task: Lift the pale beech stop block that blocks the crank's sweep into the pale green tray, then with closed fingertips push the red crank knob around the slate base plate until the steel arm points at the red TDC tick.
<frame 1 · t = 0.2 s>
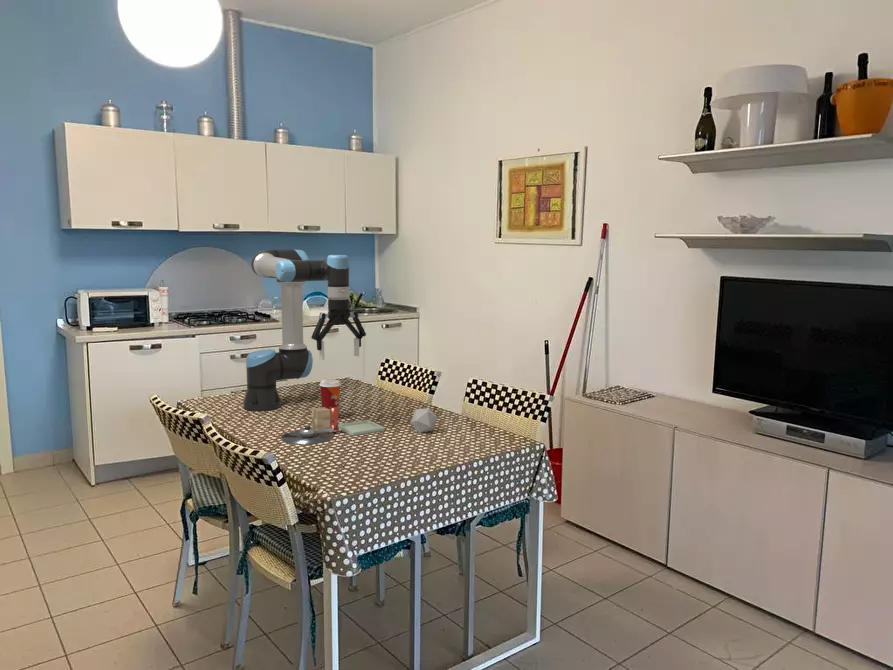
hand: (339, 357, 242), 27 cm above the table, fingers open, 13 cm apart
tray: (360, 430, 245), on the table
coffee cup: (330, 419, 260), on the table
crank: (319, 421, 237), point 5 cm above the table, hinge at 90.0°
die: (424, 431, 245), on the table
tdc tick: (294, 429, 246), on the table
base plate: (307, 437, 235), on the table
stop block: (320, 427, 247), on the table, touching base plate
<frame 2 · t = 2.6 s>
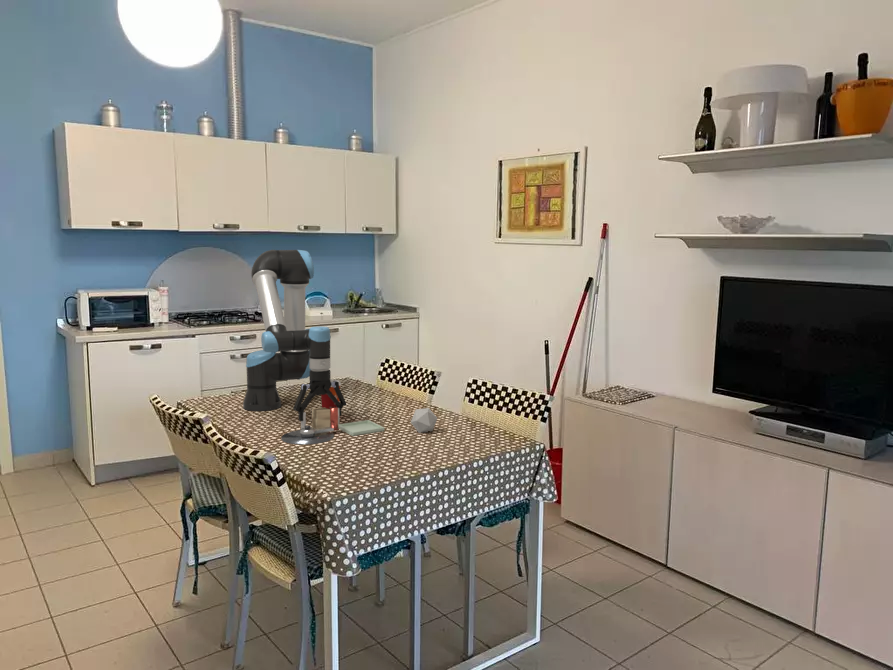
hand: (320, 427, 247), 1 cm above the table, fingers open, 12 cm apart
nothing on the table moved.
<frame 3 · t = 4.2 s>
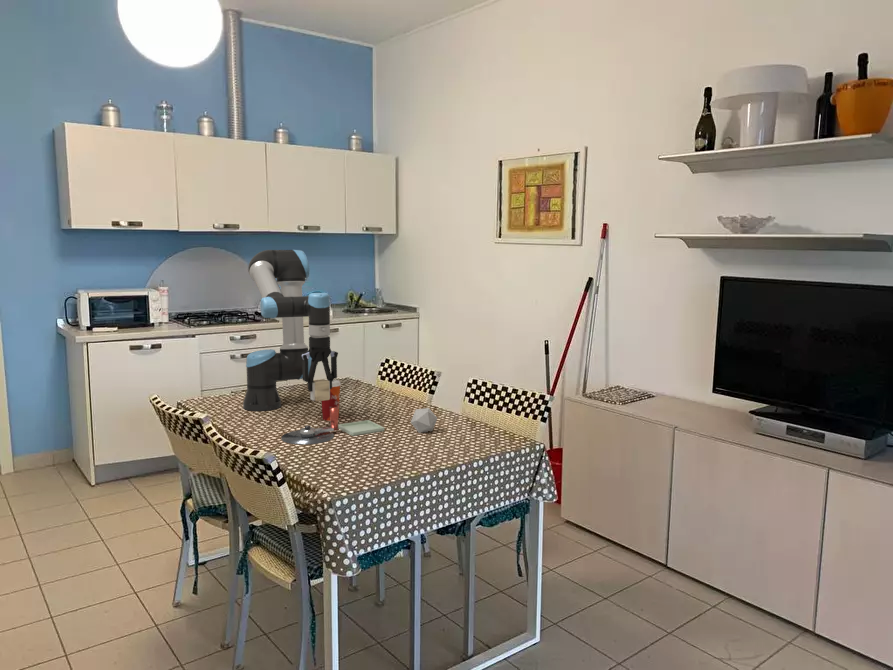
hand: (320, 398, 246), 11 cm above the table, fingers closed on stop block, 5 cm apart
stop block: (320, 399, 246), point 11 cm above the table, touching gripper
everything else where it was.
when the fingers open (1 cm above the table, at t = 7.8 s): stop block stays where it is, resting on tray.
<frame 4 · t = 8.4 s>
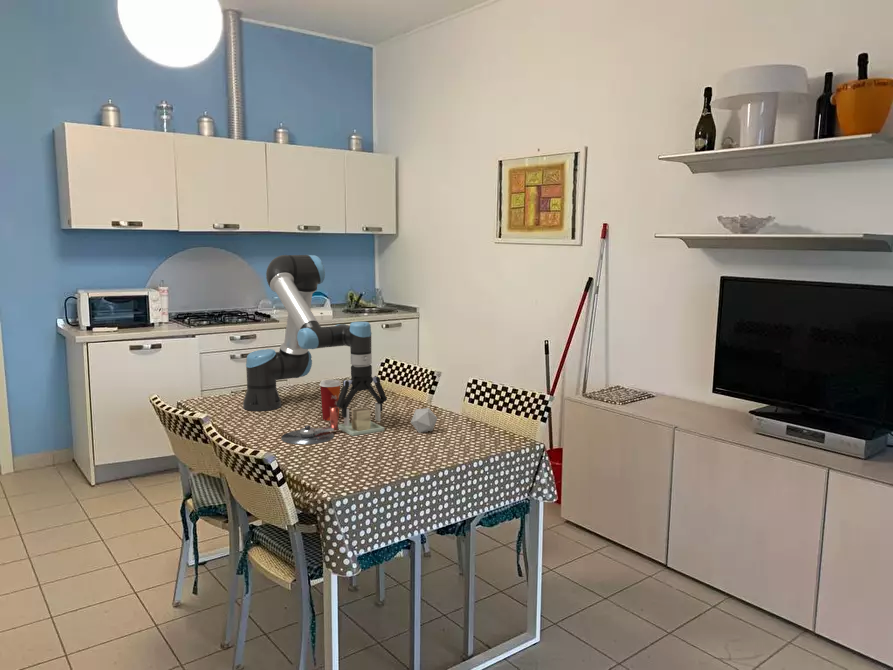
hand: (362, 423, 246), 2 cm above the table, fingers open, 12 cm apart
crank: (319, 421, 237), point 5 cm above the table, hinge at 90.6°, touching gripper
stop block: (361, 428, 245), point 1 cm above the table, touching tray
everything else where it was.
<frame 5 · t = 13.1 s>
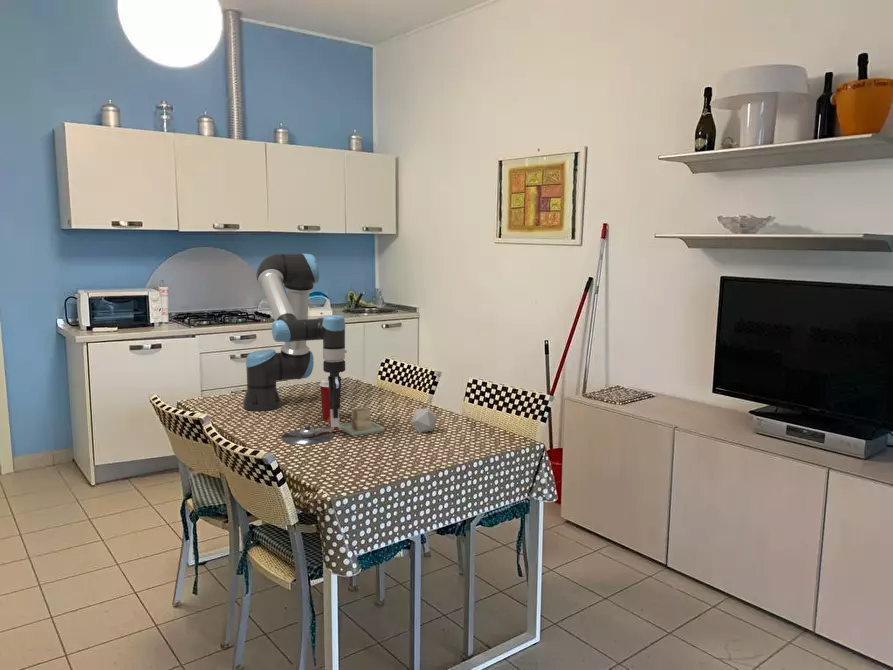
hand: (335, 426, 236), 4 cm above the table, fingers closed
crank: (319, 421, 237), point 5 cm above the table, hinge at 91.5°, touching gripper
everything else where it was.
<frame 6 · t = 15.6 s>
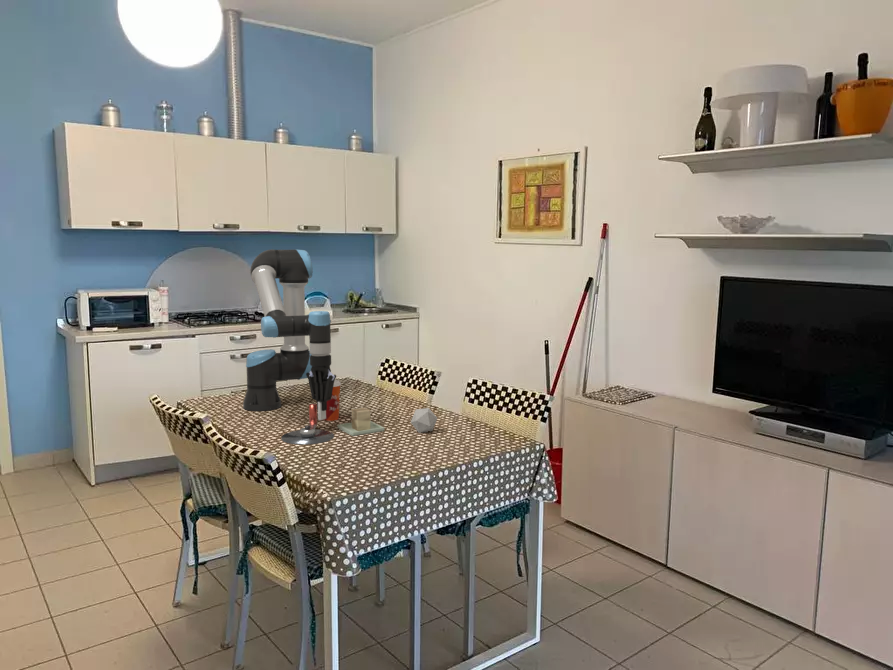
hand: (322, 419, 243), 4 cm above the table, fingers closed
crank: (310, 420, 239), point 5 cm above the table, hinge at 146.8°, touching gripper
everything else where it was.
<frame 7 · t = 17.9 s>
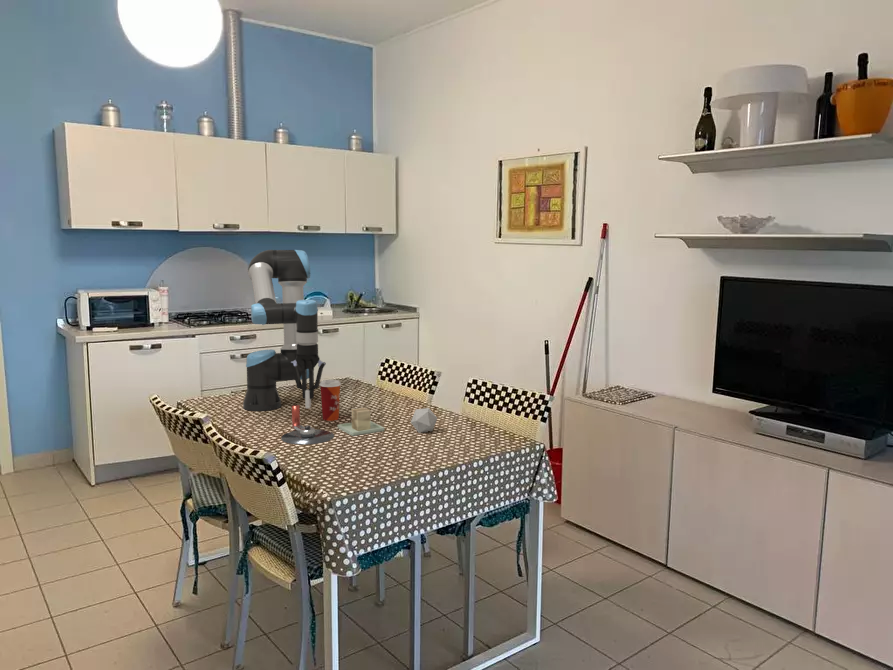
hand: (308, 407, 244), 8 cm above the table, fingers closed
crank: (302, 420, 238), point 5 cm above the table, hinge at 182.5°
everything else where it was.
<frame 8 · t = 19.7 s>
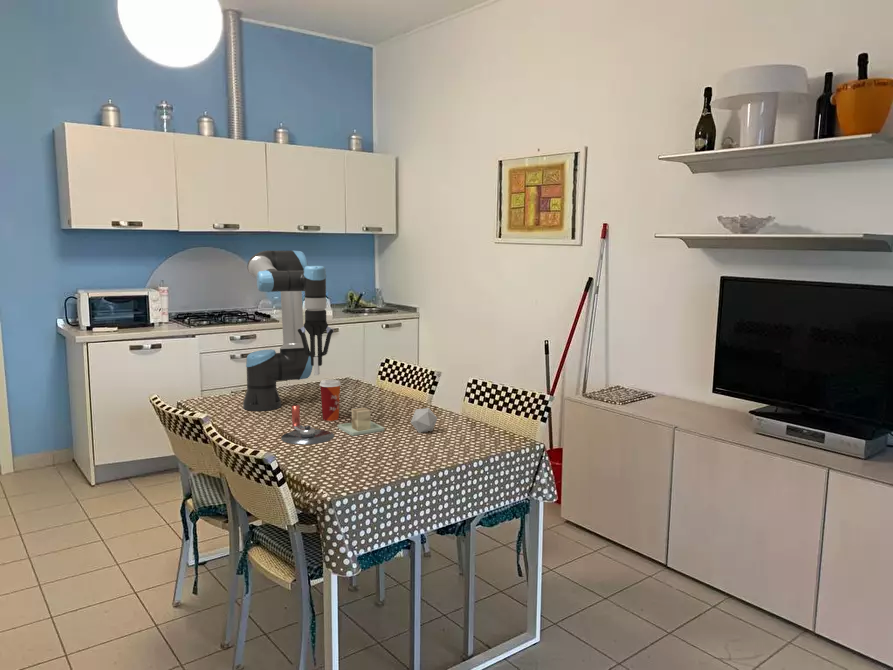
hand: (316, 374, 243), 20 cm above the table, fingers closed
nothing on the table moved.
at the end: crank at +182° (first picture: +90°); stop block inside the target area on the tray (0.2 cm from its centre), point 0.6 cm above the tray's base; stop block tilted 0° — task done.
